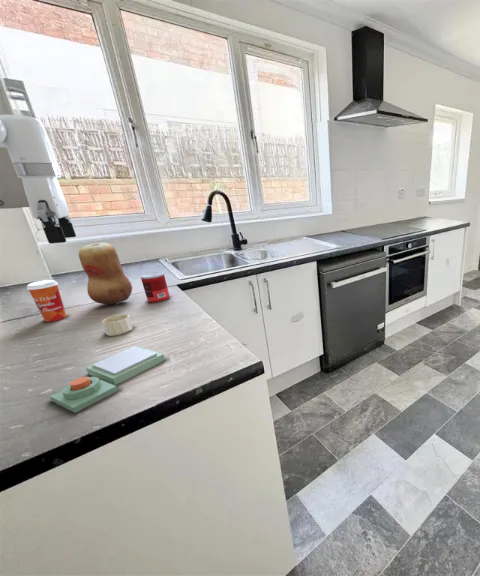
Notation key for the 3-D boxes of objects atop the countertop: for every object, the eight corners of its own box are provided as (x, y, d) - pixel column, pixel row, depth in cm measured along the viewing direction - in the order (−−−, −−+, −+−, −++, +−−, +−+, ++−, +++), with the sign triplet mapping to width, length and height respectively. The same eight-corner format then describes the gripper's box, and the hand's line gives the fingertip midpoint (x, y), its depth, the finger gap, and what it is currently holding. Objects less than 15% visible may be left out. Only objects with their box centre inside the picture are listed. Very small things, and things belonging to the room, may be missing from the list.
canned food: (173, 295, 135) (167, 271, 131) (164, 301, 128) (157, 276, 124) (154, 296, 134) (147, 272, 130) (143, 303, 126) (136, 277, 123)
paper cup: (35, 324, 109) (19, 287, 104) (47, 316, 115) (33, 281, 111) (64, 320, 112) (50, 284, 107) (74, 312, 118) (61, 278, 114)
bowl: (113, 337, 99) (109, 324, 97) (101, 333, 102) (97, 321, 100) (136, 328, 105) (133, 316, 103) (125, 324, 107) (121, 313, 106)
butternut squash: (84, 311, 119) (60, 248, 111) (107, 299, 132) (88, 241, 124) (123, 308, 121) (103, 246, 113) (143, 296, 134) (126, 239, 126)
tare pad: (117, 390, 73) (114, 380, 72) (75, 413, 66) (70, 401, 65) (94, 381, 77) (90, 370, 76) (51, 401, 70) (46, 390, 69)
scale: (115, 385, 75) (112, 376, 74) (88, 374, 80) (84, 365, 79) (165, 360, 85) (162, 352, 85) (138, 351, 90) (136, 343, 89)
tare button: (94, 384, 71) (91, 378, 71) (76, 392, 69) (74, 386, 68) (86, 380, 73) (84, 375, 72) (69, 388, 70) (66, 383, 69)
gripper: (30, 172, 82) (54, 237, 87) (0, 170, 68) (31, 247, 74) (68, 172, 86) (89, 234, 91) (47, 170, 72) (74, 243, 77)
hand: (63, 240), depth 82 cm, fingers open, 9 cm apart
